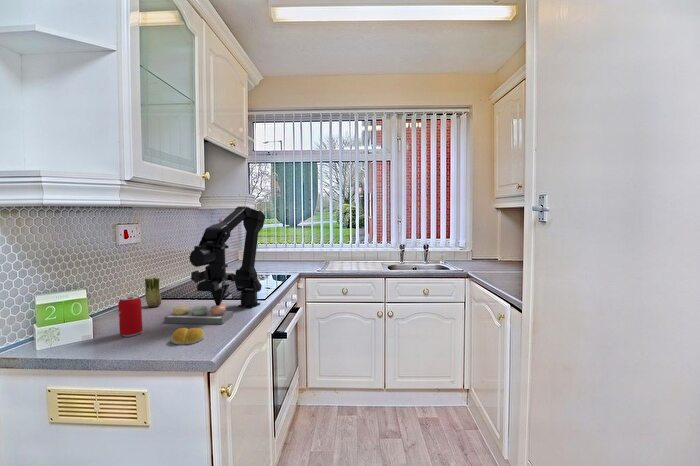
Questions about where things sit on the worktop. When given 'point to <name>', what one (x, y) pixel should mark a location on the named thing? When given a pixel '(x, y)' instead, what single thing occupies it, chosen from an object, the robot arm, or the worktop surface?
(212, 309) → the terracotta button
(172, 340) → the bread roll
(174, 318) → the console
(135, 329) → the beverage can
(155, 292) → the fennel bulb
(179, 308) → the ochre button
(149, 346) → the worktop surface
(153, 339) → the worktop surface
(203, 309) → the sage button
